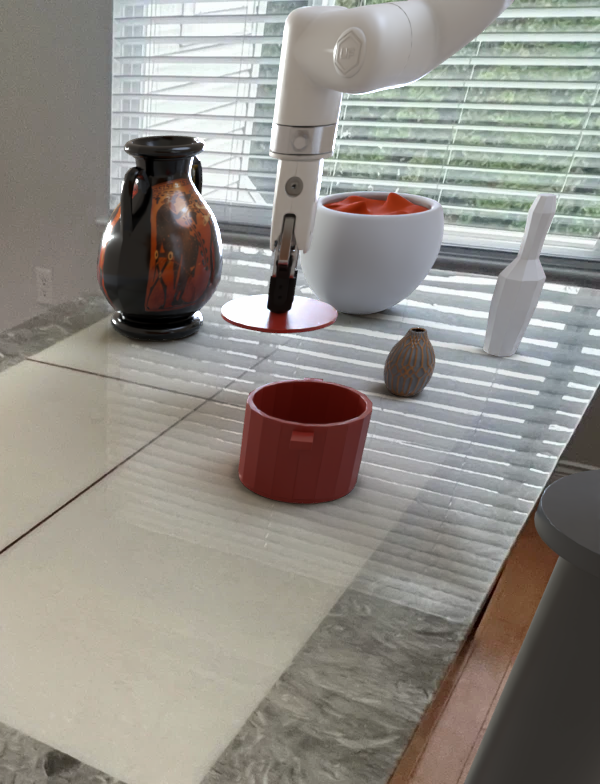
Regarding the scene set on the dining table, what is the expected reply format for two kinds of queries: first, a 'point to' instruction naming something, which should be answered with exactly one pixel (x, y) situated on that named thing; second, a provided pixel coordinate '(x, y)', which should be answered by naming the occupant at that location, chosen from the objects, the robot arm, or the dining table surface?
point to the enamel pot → (303, 440)
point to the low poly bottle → (520, 283)
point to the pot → (371, 248)
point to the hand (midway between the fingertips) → (280, 304)
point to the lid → (279, 315)
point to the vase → (410, 363)
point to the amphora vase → (160, 243)
